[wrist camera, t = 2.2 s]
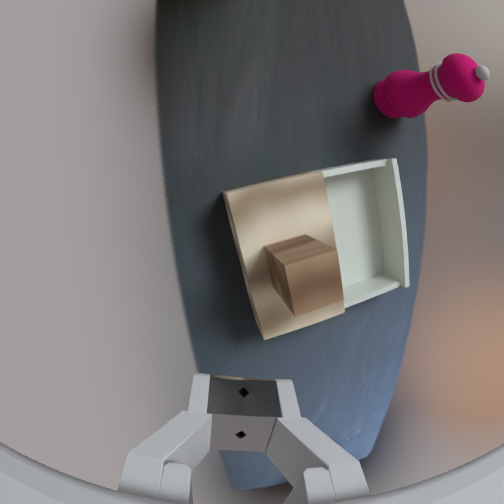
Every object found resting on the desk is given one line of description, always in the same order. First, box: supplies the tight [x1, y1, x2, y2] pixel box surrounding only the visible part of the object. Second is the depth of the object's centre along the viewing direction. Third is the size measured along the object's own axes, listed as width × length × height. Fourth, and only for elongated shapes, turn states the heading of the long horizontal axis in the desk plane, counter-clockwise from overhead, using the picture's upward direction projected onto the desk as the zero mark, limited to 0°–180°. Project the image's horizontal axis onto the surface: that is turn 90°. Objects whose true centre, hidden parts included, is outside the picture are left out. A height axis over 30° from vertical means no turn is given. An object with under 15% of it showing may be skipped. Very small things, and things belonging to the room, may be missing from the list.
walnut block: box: [264, 234, 344, 317], centre depth 30 cm, size 5×5×8 cm
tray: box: [305, 158, 409, 308], centre depth 38 cm, size 18×11×6 cm, turn 13°
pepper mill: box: [373, 53, 490, 118], centre depth 28 cm, size 7×7×20 cm
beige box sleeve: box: [222, 172, 345, 340], centre depth 36 cm, size 18×11×6 cm, turn 13°
